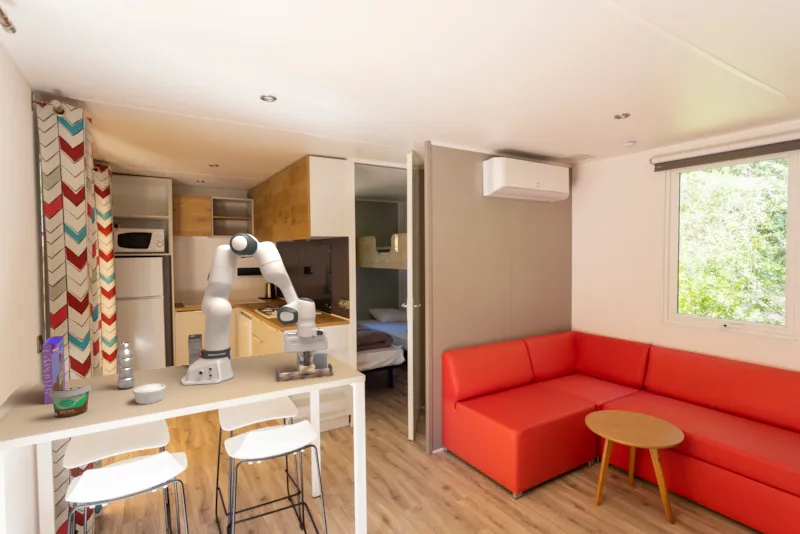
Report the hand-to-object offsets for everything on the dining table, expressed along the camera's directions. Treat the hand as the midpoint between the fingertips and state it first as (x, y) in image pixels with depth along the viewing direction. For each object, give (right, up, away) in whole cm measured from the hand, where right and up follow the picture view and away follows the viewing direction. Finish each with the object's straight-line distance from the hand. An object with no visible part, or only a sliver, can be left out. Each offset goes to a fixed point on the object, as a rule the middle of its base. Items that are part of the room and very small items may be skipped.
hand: (306, 360), depth 196 cm
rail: (-1, -8, 0) cm, 8 cm away
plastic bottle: (-76, -9, -15) cm, 79 cm away
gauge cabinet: (0, -8, +11) cm, 13 cm away
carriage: (0, -6, 0) cm, 6 cm away
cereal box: (-99, -9, -26) cm, 103 cm away
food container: (-77, -10, -45) cm, 90 cm away
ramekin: (-57, -10, -30) cm, 65 cm away
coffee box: (-63, -8, +19) cm, 66 cm away
